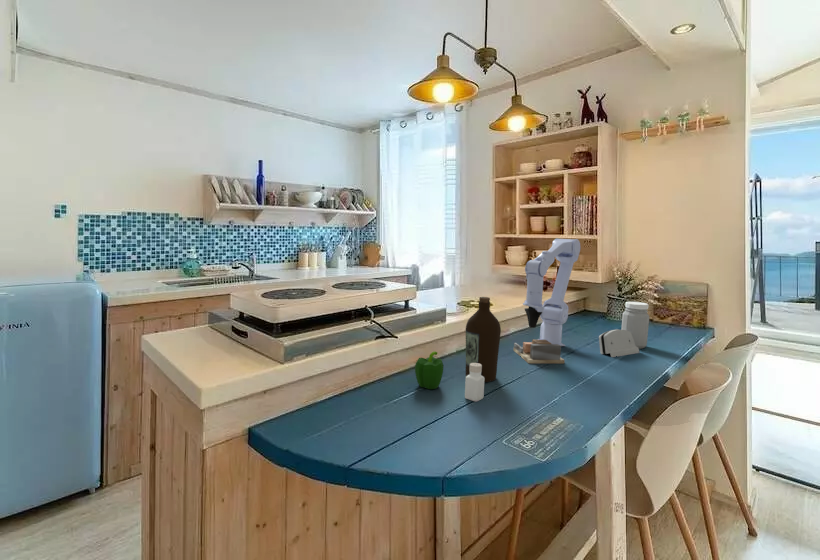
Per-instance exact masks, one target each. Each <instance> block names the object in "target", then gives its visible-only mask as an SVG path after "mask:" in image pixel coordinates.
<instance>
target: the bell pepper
mask: <svg viewBox="0 0 820 560" xmlns="http://www.w3.org/2000/svg"><path fill="white" fill-rule="evenodd" d="M436 355H438V351H432V352H431V353H430V354H429V355H428V356H429V357H426V358H424V357H418V358H417V360H416V362H415V364H414V374H415V378H416V382H417V384H418V385H419V387H420V388H425V389H428V390H435V389H438V387H439V386H440V384H441V381H442V379H443V378H442V377H443V374H444V363H443V361H442V360H443V359H442V358H436V357H434V356H436Z"/></svg>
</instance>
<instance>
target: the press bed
mask: <svg viewBox="0 0 820 560" xmlns="http://www.w3.org/2000/svg"><path fill="white" fill-rule="evenodd" d="M512 351H513V352H514V353H516V354H517V355H518V356H519V357H520V356H521V357H520V358H522V359H523V360H524V361H525V362H526V363H527V364H565V362H566V361H565V359H564V358H562V357H561V355H562V353H561V352H562V346H560V345H559V344H531V349H530V353H525V352H524V351H523V346H521V345H520V344H518V343H517V342H514V343H513V350H512Z"/></svg>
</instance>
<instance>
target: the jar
mask: <svg viewBox="0 0 820 560" xmlns="http://www.w3.org/2000/svg"><path fill="white" fill-rule="evenodd" d="M649 307H650V305H649V303H646V302H640V301H626V302H625V308H624V311H623V312H622V316H621V317H622V320H621V329H620V330H626V331H629V332H631V333H632V337H633V340H634V343H635V346H636V347H638V348H639V350H640V349H641V350H642V349H644V348H646V347H647V345H648V336H649V335H648V333H649V326H650V324H649V323H650V315H649V314H648V313H649V311H648V309H649Z"/></svg>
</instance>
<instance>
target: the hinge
mask: <svg viewBox="0 0 820 560" xmlns="http://www.w3.org/2000/svg"><path fill="white" fill-rule="evenodd" d="M598 343H599V352H600V355H605V354H606V355H607V354H610V358H615V357H616V356H617V357H623V356H627V355H634V354H640V349H639V348H638V347H636V346H635V343H634V340H633V337H632V333H631V332H629V331H626V330H621V329H611V330H608V331H605V332H603V333H602V334H600V335H599V336H598Z"/></svg>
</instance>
